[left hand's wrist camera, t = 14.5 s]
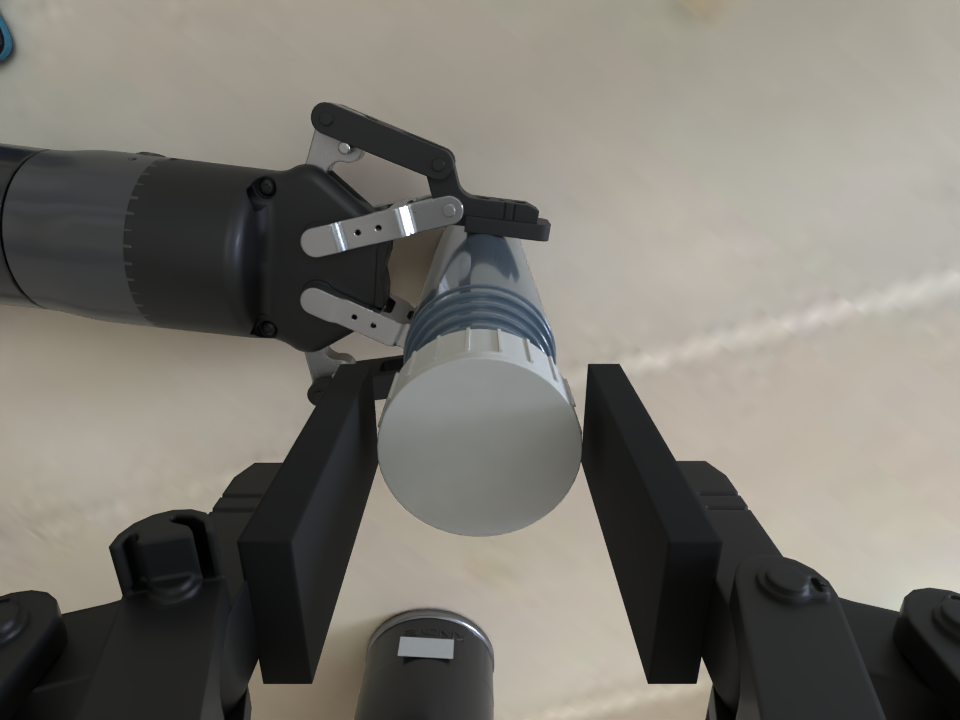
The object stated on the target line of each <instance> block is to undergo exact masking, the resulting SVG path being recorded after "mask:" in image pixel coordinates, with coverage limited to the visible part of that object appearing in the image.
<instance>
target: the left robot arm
mask: <svg viewBox="0 0 960 720" xmlns="http://www.w3.org/2000/svg"><path fill="white" fill-rule="evenodd" d="M378 463H379V461H378V454H377V427H376V414H375V400H374V387H373V373H372V364H340V366H339V368H338V369H337V371H336V373H335V374H334V376H333V378H332V380H331V381H330V383H329V385H328V386H327V388H326V390H325V392H324V393H323V395H322V397H321V398H320V400H319V402H318V404H317V405H316V407H315V409H314V410H313V412H312V414H311V416H310V417H309V419H308V421H307V422H306V424H305V426H304V428H303V429H302V431H301V433H300V434H299V436H298V438H297V440H296V441H295V443H294V445H293V446H292V448H291V450H290V452H289V453H288V455H287V457H286V458H285V460H284V462H283V463H254V464H253V465H251V466H250V467H248V468H247V469H245V470H244V471H243V472H241V473H240V474H238V475H237V476H236V477H234V479H233V480H232V481H231V483H230V484H229V486H228V487H227V489H226V490H225V491H224V493H223V496H222V498H220V499H219V500H218V501H217V503H216V504H215V506H214V507H213V511H212V512H210V513H209V514H207V513H205V512H201V511H196V510H192V509H186V510H171V511H167V512H163V513H159V514H155V515H152V516H150V517H147V518H145V519H143V520H141V521H138V522H136V523H134V524H133V525H131V526H130V527H128V528H127V529H126V530H124V531H123V532H121V533H120V534H119V535H118V536H117V537H116V538H115V540H114V541H113V542H112V544H111V545H110V546H109V550H110V553H111V556H112V560H113V563H114V567H115V570H116V574H117V577H118V581H119V584H120V588H121V591H122V595H123V596H122V599H121V600H119V601H115V602H112V603H109V604H105V605H100V606H96V607H91V608H87V609H83V610H78V611H74V612H69V613H65V614H61V612H60V609H59V606H58V603H57V600H56V599H55V598H54V597H52V596H51V595H50V594H49V593H47V592H40V591H33V590H29V591H22V592H15V593H10V594H7V595H4V596H0V720H250V719H251V708H252V707H251V701H250V694H249V689H248V683H249V680H250V678H251V676H252V673H253V671H254V668H255V666H256V664H257V661H258V659H259V662H260V668H261V673H262V678H263V684H312V682H313V679H314V675H315V672H316V669H317V665H318V662H319V659H320V655H321V652H322V649H323V645H324V642H325V639H326V635H327V632H328V629H329V626H330V622H331V619H332V616H333V612H334V609H335V606H336V602H337V599H338V596H339V592H340V589H341V586H342V582H343V579H344V576H345V572H346V569H347V566H348V562H349V559H350V556H351V552H352V549H353V546H354V542H355V539H356V536H357V532H358V529H359V526H360V522H361V519H362V516H363V513H364V509H365V506H366V503H367V499H368V496H369V493H370V489H371V486H372V483H373V479H374V476H375V473H376V469H377V466H378ZM581 463H582V466H583V469H584V473H585V476H586V479H587V483H588V486H589V489H590V493H591V496H592V499H593V503H594V506H595V509H596V513H597V516H598V519H599V522H600V526H601V529H602V532H603V536H604V539H605V542H606V546H607V549H608V552H609V556H610V559H611V562H612V566H613V569H614V572H615V576H616V579H617V582H618V586H619V589H620V592H621V596H622V599H623V602H624V606H625V609H626V612H627V616H628V619H629V622H630V625H631V629H632V632H633V635H634V639H635V642H636V645H637V649H638V652H639V655H640V659H641V662H642V665H643V669H644V672H645V675H646V679H647V682H648V684H697V678H698V673H699V668H700V662H701V657H702V658H703V661H704V663H705V665H706V668H707V670H708V673H709V675H710V677H711V680H712V682H713V684H712V689H711V694H710V699H709V704H708V709H707V714H706V719H705V720H960V594H959V593H956V592H953V591H949V590H942V589H935V588H924V589H917V590H913V591H912V592H910V593H909V594H908V595H907V596H905V597H904V600H903V603H902V606H901V609H900V612H897V611H893V610H888V609H884V608H880V607H875V606H871V605H866V604H862V603H857V602H853V601H850V600H846V599H843V598H840V597H838V595H837V594H836V592H835V591H834V589H833V588H832V586H831V585H830V583H829V582H828V581H827V580H826V579H825V578H824V577H822V576H821V575H820V574H819V573H817V572H816V571H815V570H814V569H812V568H810V567H808V566H806V565H804V564H802V563H800V562H798V561H796V560H793V559H789V558H785V557H783V556H782V554H781V553H780V552H779V550H778V549H777V547H776V546H775V545H774V543H773V542H772V540H771V539H770V537H769V536H768V535H767V533H766V532H765V530H764V529H763V527H762V526H761V525H760V523H759V522H758V520H757V519H756V517H755V516H754V515H753V513H752V512H751V510H748V506H747V505H746V503H745V502H744V500H743V499H742V498H741V496H738V492H737V490H736V489H735V488H734V486H733V485H732V483H731V482H730V480H729V479H728V478H727V476H726V475H725V474H723V473H722V472H720V471H719V470H717V469H716V468H715V467H713V466H712V465H710V464H709V463H707V462H706V461H676V460H675V458H674V457H673V455H672V453H671V452H670V450H669V448H668V446H667V445H666V443H665V441H664V440H663V438H662V436H661V434H660V433H659V431H658V429H657V428H656V426H655V424H654V422H653V421H652V419H651V417H650V416H649V414H648V412H647V410H646V409H645V407H644V405H643V404H642V402H641V400H640V398H639V397H638V395H637V393H636V392H635V390H634V388H633V386H632V385H631V383H630V381H629V380H628V378H627V376H626V374H625V373H624V371H623V369H622V368H621V366H620V364H588V373H587V387H586V400H585V414H584V427H583V441H582V458H581Z"/></svg>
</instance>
